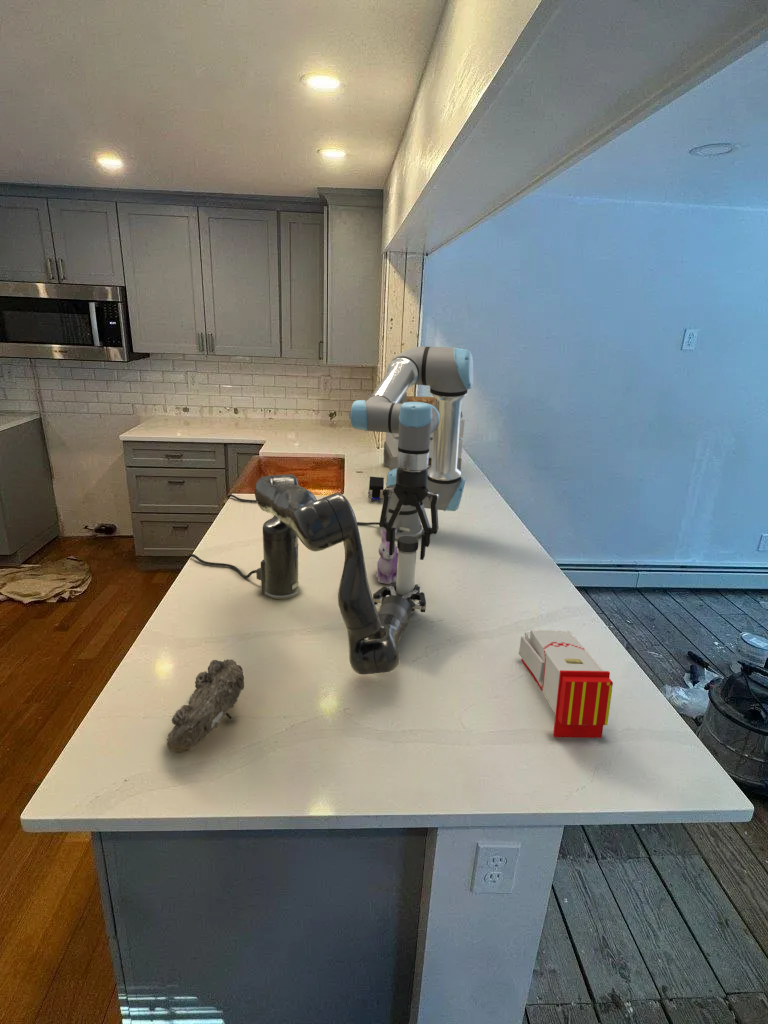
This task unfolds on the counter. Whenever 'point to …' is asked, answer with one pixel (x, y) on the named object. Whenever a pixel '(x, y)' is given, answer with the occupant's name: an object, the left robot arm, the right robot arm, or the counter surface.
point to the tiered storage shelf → (392, 438)
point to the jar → (405, 572)
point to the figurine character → (376, 488)
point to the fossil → (206, 705)
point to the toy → (568, 682)
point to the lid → (407, 544)
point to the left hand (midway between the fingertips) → (406, 586)
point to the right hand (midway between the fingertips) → (407, 555)
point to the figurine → (387, 562)
